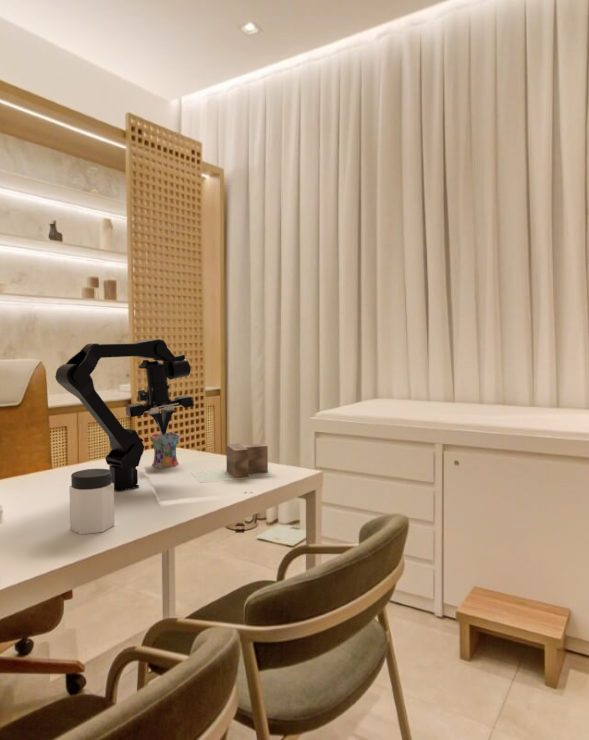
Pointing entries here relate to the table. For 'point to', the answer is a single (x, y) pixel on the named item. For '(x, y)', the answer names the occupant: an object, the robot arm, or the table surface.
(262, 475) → the board
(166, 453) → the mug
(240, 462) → the t block
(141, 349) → the robot arm
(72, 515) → the jar
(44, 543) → the table surface
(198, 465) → the table surface
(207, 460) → the table surface
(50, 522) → the table surface
